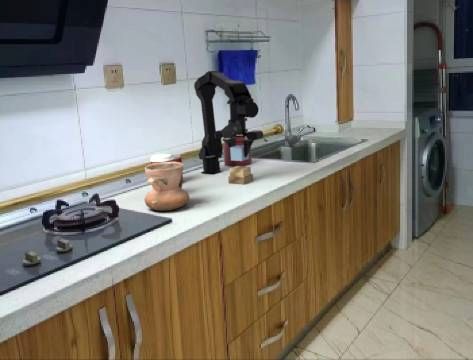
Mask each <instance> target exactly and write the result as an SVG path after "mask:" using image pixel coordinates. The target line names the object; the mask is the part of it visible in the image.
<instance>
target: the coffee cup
mask: <svg viewBox="0 0 473 360" xmlns="http://www.w3.org/2000/svg"><path fill="white" fill-rule="evenodd" d="M172 155H173V154H171V153H159V154H153V155H150V160H149V162H150V164H155V163H162V162H173V159H174V158H173V157H172Z"/></svg>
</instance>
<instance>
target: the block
mask: <svg viewBox="0 0 473 360" xmlns="http://www.w3.org/2000/svg"><path fill="white" fill-rule="evenodd" d="M230 151H231V160H233V161H244V160H246V159H249V153H248V155H247V157H245V156H244V146H240V145H237V146H234V147H230Z"/></svg>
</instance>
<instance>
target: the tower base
mask: <svg viewBox="0 0 473 360" xmlns="http://www.w3.org/2000/svg"><path fill="white" fill-rule="evenodd" d="M227 178H228V181H227V182H228V184H231V185H232V184H233V185H241V186H242V185H243V186H244V185H247V184H249V183H251V182H253V181H254V174H253V173H251V174H250V175H248V176H246V177H244V178H242V177H230V175H229V176H228V177H227Z"/></svg>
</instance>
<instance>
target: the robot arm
mask: <svg viewBox="0 0 473 360" xmlns="http://www.w3.org/2000/svg"><path fill="white" fill-rule="evenodd" d="M193 87H194V90H195V95H196V97H197V98H198V99H199V101H200V104H201V105H200V106H201V107H200V108H201V114H202V115H201V116H202V123H203V130H204V133H203V134H204V136H203V139H202V140H201V148H200V150H199V153H198V159H199V160H202V168H203V169H202V170H203V171H201V172H200V173H201V174H208V175H215V174H217V173H221V172H222V169H221V165H220V164H221V163H220V160H219V159H220V158H222V157H223V151H224V148H223V142H224V141H225V142H226V143H227V144H228V146H229V148H230V147H234V146H236V138H235V137H245V140H242V142H243V143H244V156H245V157H247V155H248V153H249V150H250V147H251V148H252V145H253V143H254V141H258V140H261V139H264V133H263V131H262V130H261V129H260V130H257V129H255V130H250V131H249V129H248V128H247V125H246V123H247V121H248V118H251V119H254V118H256V116H257V115H259V106H258V104H257V103H256V102H254V98H252V94H251V93H250V91H249V89H248V87H247V84H246V83H245V82H244V81H240V80H233V79H231V78H229V77H228V76H226V75H224V74H222V73H221V72H220V71H219V70H208V71H206V72H205V73H204V74H203V75H202V76H200V77H198V78H197V80H196V81H195V82H194V85H193ZM217 87H219V88H220V89H222V90H223V91H224V92H223V94H224V95H225V96H226V97H227V98H228V100H227V101H226V104H227V105H229V118H230V119H228V120H227V125H225V126H224V127H223V128H222V129H219V130H216V129H217V127H216V119H215V112H214V110H215V109H214V103H213V99H214V98H215V95H216V88H217Z"/></svg>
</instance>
